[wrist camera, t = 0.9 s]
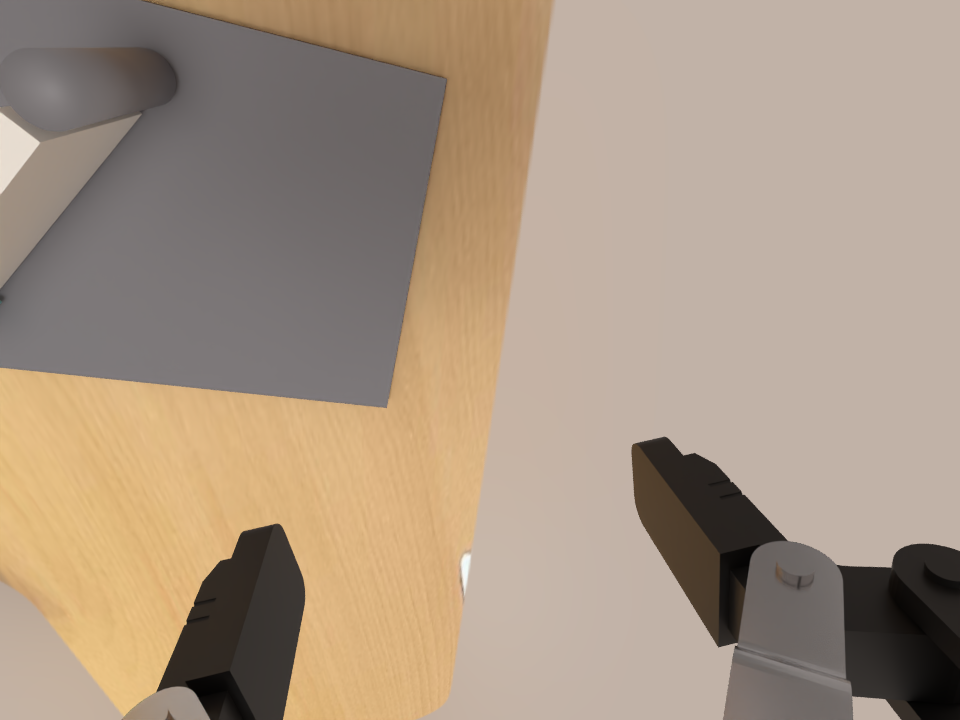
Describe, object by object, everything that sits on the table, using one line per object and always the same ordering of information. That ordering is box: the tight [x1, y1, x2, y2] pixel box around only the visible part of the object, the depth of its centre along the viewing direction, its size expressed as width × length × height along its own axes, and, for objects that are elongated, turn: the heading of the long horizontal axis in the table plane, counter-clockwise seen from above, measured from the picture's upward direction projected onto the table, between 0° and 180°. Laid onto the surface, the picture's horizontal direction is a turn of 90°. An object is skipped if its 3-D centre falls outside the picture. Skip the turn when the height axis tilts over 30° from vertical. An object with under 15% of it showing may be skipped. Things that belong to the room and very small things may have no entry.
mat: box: [0, 0, 447, 408], centre depth 29 cm, size 20×25×1 cm
